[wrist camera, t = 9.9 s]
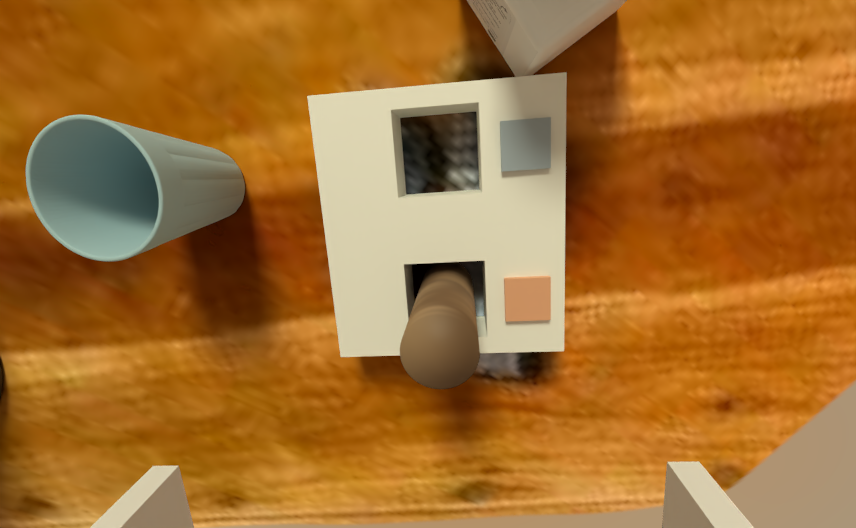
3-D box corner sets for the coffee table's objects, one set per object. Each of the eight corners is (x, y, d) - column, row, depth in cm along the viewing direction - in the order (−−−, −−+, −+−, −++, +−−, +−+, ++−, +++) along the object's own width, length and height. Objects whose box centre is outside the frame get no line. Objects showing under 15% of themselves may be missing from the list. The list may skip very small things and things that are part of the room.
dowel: (424, 310, 32) (403, 389, 20) (420, 261, 31) (396, 316, 20) (473, 308, 32) (481, 388, 20) (471, 259, 31) (478, 313, 19)
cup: (263, 142, 30) (162, 129, 20) (256, 240, 32) (160, 274, 22) (168, 124, 30) (20, 102, 20) (166, 222, 32) (30, 247, 22)
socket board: (354, 335, 33) (339, 359, 29) (327, 105, 29) (304, 94, 25) (551, 328, 32) (565, 353, 27) (551, 85, 28) (568, 70, 23)
